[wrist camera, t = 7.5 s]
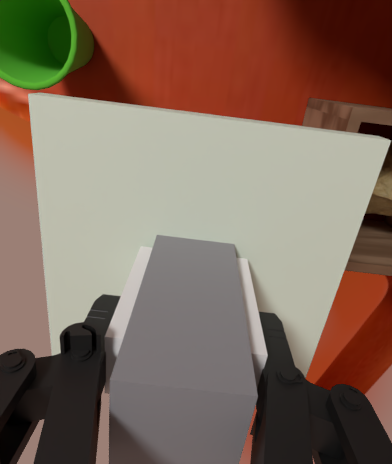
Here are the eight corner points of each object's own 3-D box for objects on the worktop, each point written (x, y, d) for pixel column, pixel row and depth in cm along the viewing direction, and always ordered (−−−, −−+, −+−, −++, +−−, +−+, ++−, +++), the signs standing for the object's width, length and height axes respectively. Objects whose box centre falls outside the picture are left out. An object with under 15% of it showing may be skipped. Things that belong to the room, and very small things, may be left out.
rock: (303, 219, 43) (384, 232, 42) (323, 197, 34) (425, 213, 33) (312, 142, 45) (390, 153, 44) (333, 105, 37) (429, 117, 35)
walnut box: (309, 97, 39) (353, 107, 27) (435, 114, 39) (533, 130, 27) (280, 216, 45) (305, 265, 33) (388, 229, 45) (451, 283, 34)
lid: (49, 91, 16) (-209, 116, 6) (369, 132, 17) (620, 220, 7) (66, 339, 23) (-45, 544, 13) (292, 365, 23) (357, 584, 13)
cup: (104, 96, 39) (69, 104, 29) (27, 71, 38) (-36, 69, 29) (120, 10, 36) (85, -15, 26) (35, -20, 35) (-34, -59, 25)
